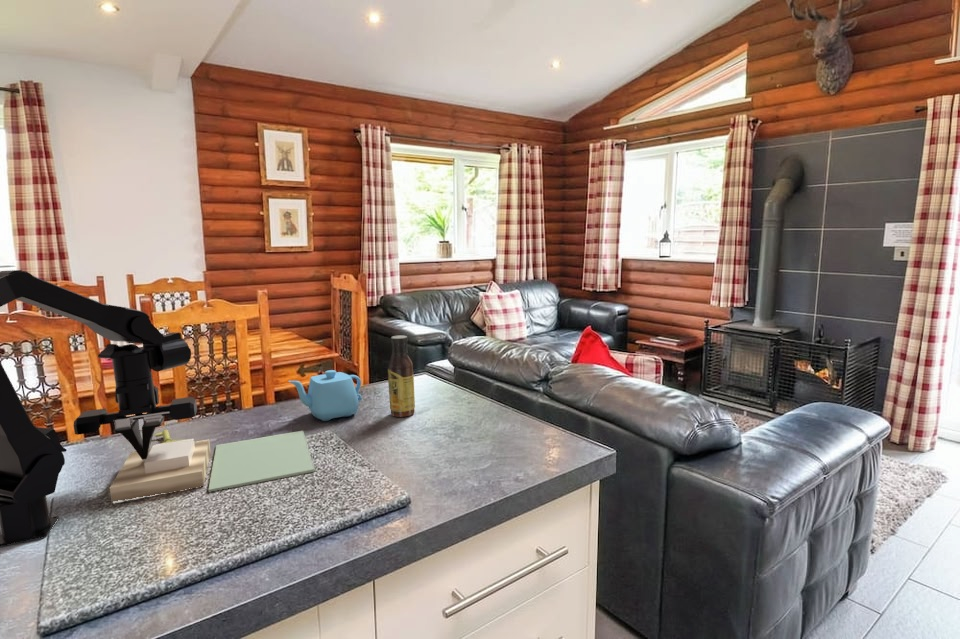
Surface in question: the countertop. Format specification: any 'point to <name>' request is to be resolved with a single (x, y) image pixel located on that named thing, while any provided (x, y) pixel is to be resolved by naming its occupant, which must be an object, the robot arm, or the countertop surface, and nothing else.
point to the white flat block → (169, 456)
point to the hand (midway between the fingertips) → (145, 458)
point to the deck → (160, 476)
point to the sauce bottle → (401, 379)
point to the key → (165, 437)
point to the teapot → (331, 395)
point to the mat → (260, 460)
